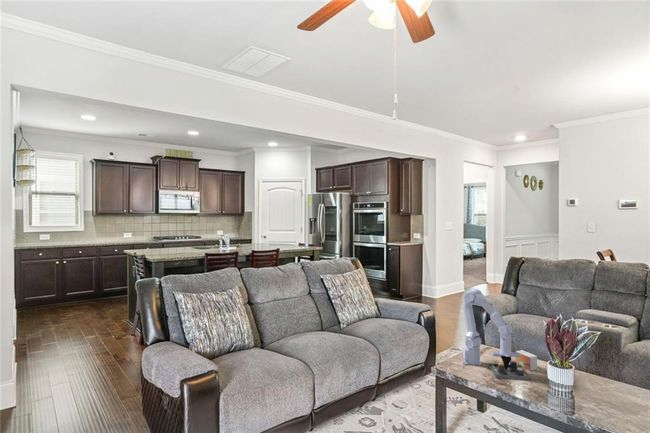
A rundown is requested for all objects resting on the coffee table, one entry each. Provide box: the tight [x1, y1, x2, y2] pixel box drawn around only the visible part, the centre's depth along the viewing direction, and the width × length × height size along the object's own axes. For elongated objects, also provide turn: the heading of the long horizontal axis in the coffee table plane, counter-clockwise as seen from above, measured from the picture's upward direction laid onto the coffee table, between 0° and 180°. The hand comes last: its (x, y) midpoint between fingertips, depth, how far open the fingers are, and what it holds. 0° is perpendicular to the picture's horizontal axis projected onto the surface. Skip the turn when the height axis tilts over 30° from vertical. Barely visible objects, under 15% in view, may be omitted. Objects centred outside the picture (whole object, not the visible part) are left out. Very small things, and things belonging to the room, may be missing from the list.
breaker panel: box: [488, 359, 532, 381], centre depth 212 cm, size 18×16×5 cm
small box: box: [515, 349, 538, 371], centre depth 220 cm, size 8×6×10 cm
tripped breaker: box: [498, 362, 505, 371], centre depth 213 cm, size 3×2×4 cm
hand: (505, 369), depth 212 cm, fingers closed
